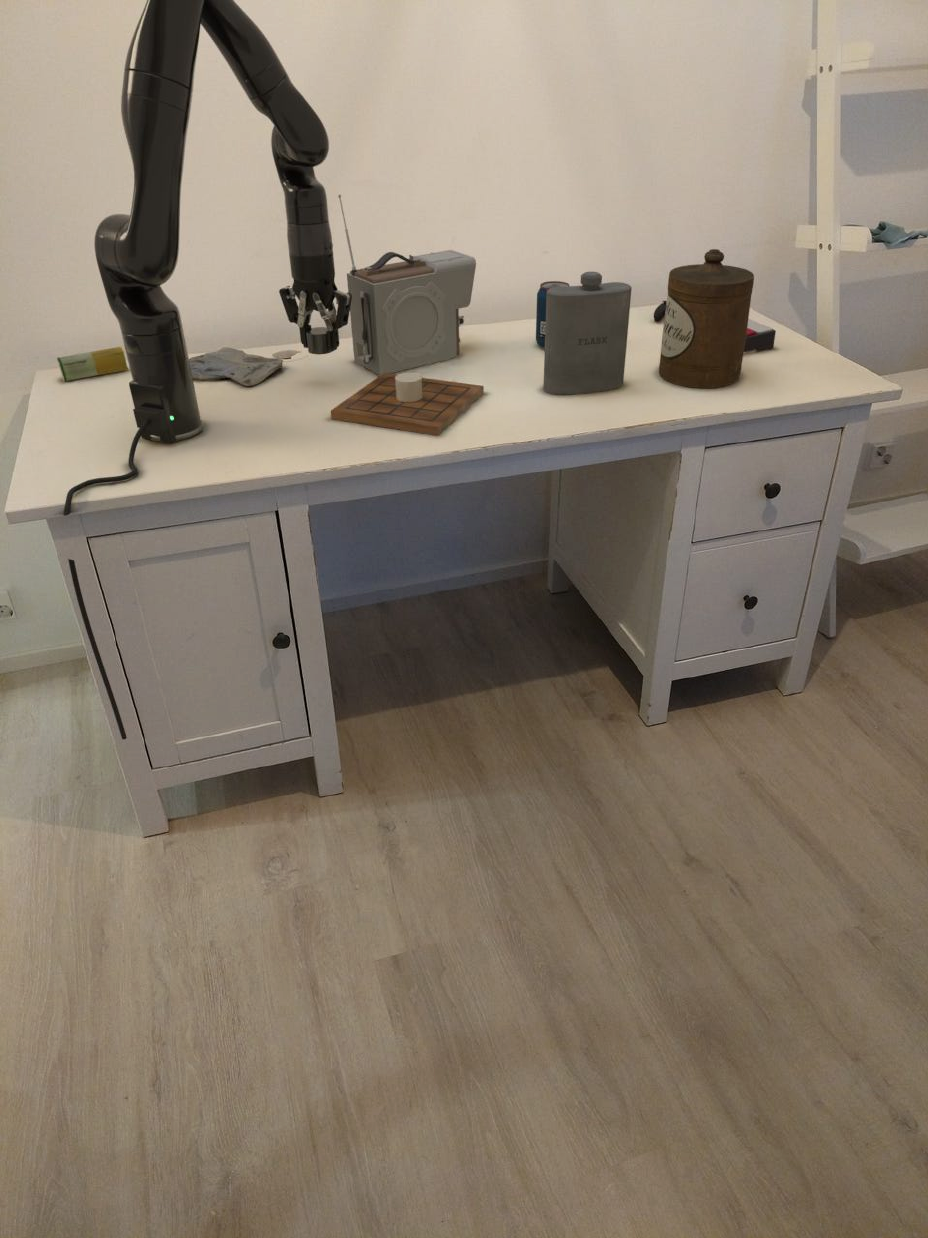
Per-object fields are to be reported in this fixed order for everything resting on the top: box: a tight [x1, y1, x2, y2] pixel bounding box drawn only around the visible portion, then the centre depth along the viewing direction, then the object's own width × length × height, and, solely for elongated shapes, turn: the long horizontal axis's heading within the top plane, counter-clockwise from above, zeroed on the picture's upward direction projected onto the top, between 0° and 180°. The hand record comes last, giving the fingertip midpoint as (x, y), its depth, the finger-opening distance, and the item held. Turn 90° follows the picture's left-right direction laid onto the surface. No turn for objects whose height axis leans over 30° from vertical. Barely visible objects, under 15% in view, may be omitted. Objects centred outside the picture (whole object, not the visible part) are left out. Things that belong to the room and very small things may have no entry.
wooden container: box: [658, 248, 755, 389], centre depth 159 cm, size 15×15×22 cm
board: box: [330, 373, 485, 436], centre depth 155 cm, size 20×20×2 cm
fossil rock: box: [189, 346, 284, 387], centre depth 170 cm, size 18×15×2 cm
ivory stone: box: [395, 372, 423, 402], centre depth 154 cm, size 5×5×4 cm
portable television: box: [337, 193, 477, 376], centre depth 168 cm, size 12×24×30 cm, turn 124°
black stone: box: [306, 326, 332, 356], centre depth 161 cm, size 5×5×4 cm
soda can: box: [535, 280, 570, 350], centre depth 178 cm, size 7×7×12 cm
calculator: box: [744, 318, 777, 354], centre depth 177 cm, size 11×4×15 cm
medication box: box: [56, 346, 129, 382], centre depth 170 cm, size 12×3×4 cm, turn 118°
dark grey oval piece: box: [653, 300, 667, 323], centre depth 194 cm, size 10×5×6 cm
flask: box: [542, 271, 633, 396], centre depth 155 cm, size 15×6×20 cm, turn 103°
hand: (320, 347), depth 162 cm, fingers closed on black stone, 4 cm apart
